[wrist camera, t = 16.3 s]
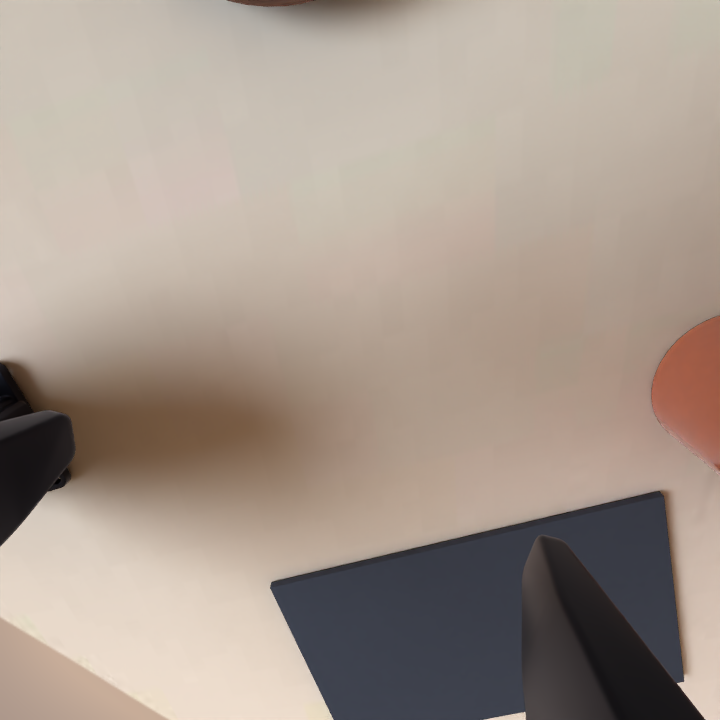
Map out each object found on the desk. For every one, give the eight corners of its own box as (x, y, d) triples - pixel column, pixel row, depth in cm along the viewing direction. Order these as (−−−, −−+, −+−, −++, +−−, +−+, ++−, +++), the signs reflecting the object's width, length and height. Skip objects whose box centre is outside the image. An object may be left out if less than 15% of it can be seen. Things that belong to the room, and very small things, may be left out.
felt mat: (346, 738, 30) (345, 746, 29) (271, 581, 25) (269, 588, 25) (680, 675, 27) (684, 682, 27) (659, 490, 23) (664, 495, 23)
